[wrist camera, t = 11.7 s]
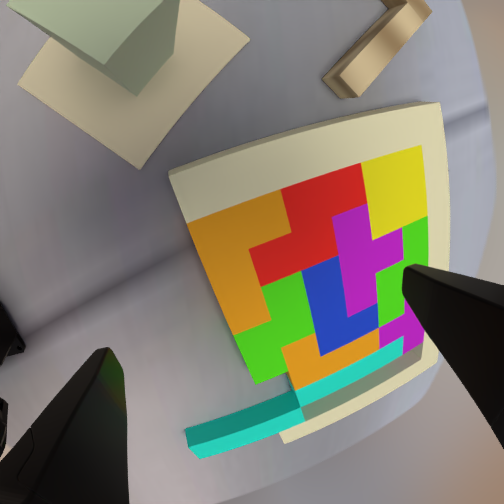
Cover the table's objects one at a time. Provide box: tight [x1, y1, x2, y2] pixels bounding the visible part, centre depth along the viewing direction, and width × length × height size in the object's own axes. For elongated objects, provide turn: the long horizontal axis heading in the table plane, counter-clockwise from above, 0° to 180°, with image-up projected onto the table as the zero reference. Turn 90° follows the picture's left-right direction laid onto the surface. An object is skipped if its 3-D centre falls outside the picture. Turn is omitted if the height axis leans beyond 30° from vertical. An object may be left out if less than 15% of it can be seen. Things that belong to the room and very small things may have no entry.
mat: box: [17, 0, 251, 170], centre depth 15 cm, size 11×11×1 cm
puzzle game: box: [168, 102, 450, 459], centre depth 26 cm, size 30×3×30 cm
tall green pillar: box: [6, 0, 180, 97], centre depth 10 cm, size 4×5×10 cm
